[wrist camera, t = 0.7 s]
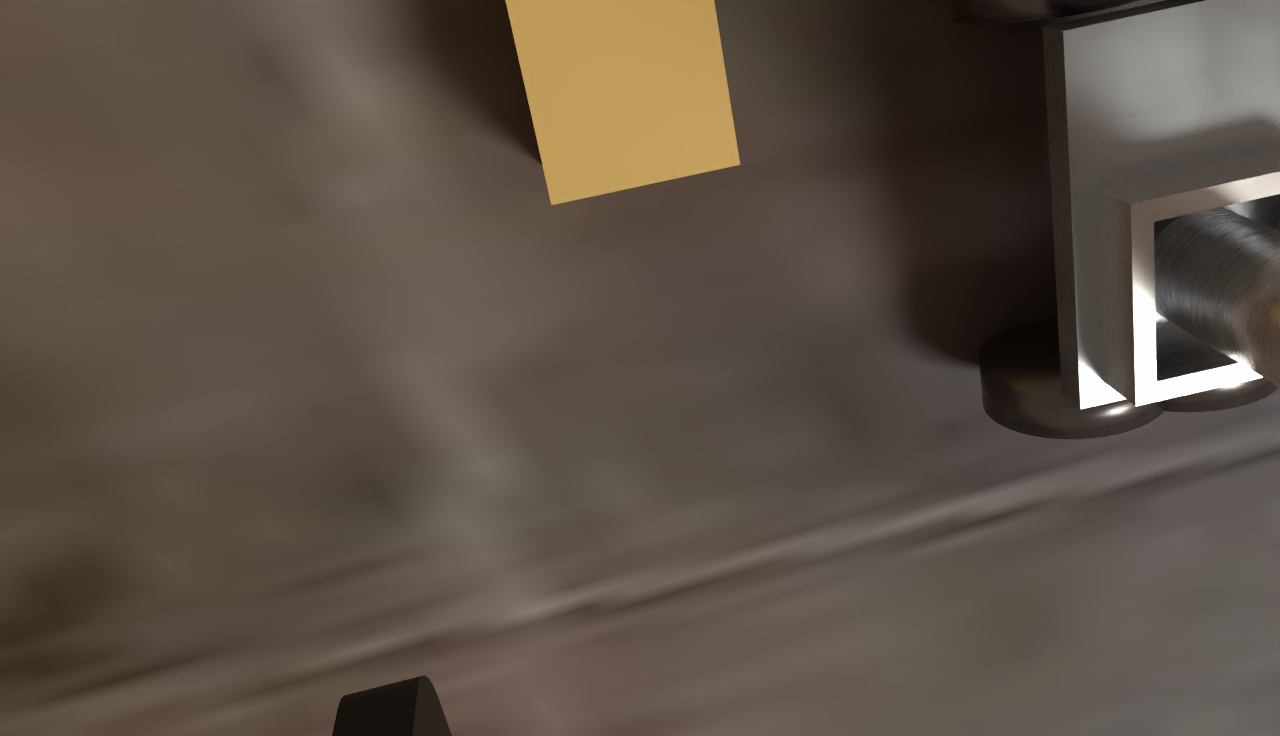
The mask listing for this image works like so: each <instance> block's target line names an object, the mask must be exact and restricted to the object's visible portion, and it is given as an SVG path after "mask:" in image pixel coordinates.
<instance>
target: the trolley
mask: <svg viewBox="0 0 1280 736" xmlns="http://www.w3.org/2000/svg"><path fill="white" fill-rule="evenodd" d="M1135 1H1138V0H950V10H951V20H952V21H953V22H956V23H961V24H976V25H984V24H1005V23H1017V22H1027V21H1036V20H1044V19H1051V18H1058V17H1064V16H1071V15H1077V14H1082V13H1088V12H1093V11H1098V10H1103V9H1107V8H1111V7H1116V6H1120V5H1124V4H1128V3H1131V2H1135ZM1043 46H1044V65H1045V84H1046V103H1047V122H1048V141H1049V160H1050V179H1051V198H1052V217H1053V236H1054V255H1055V274H1056V293H1057V312H1058V319H1050V320H1043V321H1038V322H1033V323H1029V324H1025V325H1022V326H1018V327H1015V328H1012V329H1010V330H1007V331H1005V332H1003V333H1001V334H999V335H997V336H995V337H994V338H992V339H991V340H990V341H988V342H987V343H986V344H985V345H984V347H983V348H982V350H981V352H980V355H979V362H980V374H981V386H982V398H983V407H984V409H985V412H986V413H987V414H988V415H989V417H990V418H992V419H993V420H994V421H995V422H997V423H999V424H1000V425H1002V426H1004V427H1006V428H1008V429H1011V430H1014V431H1017V432H1020V433H1024V434H1028V435H1032V436H1038V437H1045V438H1055V439H1086V438H1097V437H1105V436H1110V435H1115V434H1120V433H1123V432H1127V431H1130V430H1133V429H1136V428H1139V427H1141V426H1143V425H1146V424H1148V423H1149V422H1151V421H1153V420H1154V419H1156V418H1157V417H1158V416H1160V415H1161V414H1162V413H1163V412H1164V411H1171V412H1204V411H1215V410H1223V409H1229V408H1234V407H1239V406H1242V405H1246V404H1249V403H1252V402H1255V401H1258V400H1260V399H1262V398H1264V397H1267V396H1268V395H1270V394H1271V393H1273V392H1274V391H1276V390H1277V389H1278V388H1279V386H1277V385H1276V384H1274V383H1272V382H1271V381H1269V380H1267V379H1266V378H1264V377H1262V376H1261V375H1259V374H1257V373H1256V372H1254V371H1252V370H1250V369H1249V368H1247V367H1245V366H1244V365H1242V364H1240V363H1239V362H1237V361H1235V360H1234V359H1232V358H1230V357H1229V356H1227V355H1225V354H1224V353H1222V352H1220V351H1219V350H1217V349H1215V348H1214V347H1212V346H1210V345H1209V344H1207V343H1205V342H1204V341H1202V340H1200V339H1199V338H1197V337H1195V336H1193V335H1192V334H1190V333H1188V332H1187V331H1185V330H1183V329H1182V328H1180V327H1178V326H1177V325H1175V324H1173V323H1172V322H1170V321H1168V320H1167V319H1165V318H1163V317H1162V316H1160V315H1159V314H1157V313H1156V312H1155V262H1154V240H1155V239H1156V237H1157V236H1158V235H1159V233H1160V232H1161V231H1162V230H1163V229H1164V228H1165V227H1166V226H1167V225H1169V224H1170V223H1171V222H1172V221H1174V220H1175V219H1177V218H1178V217H1180V216H1182V215H1187V214H1191V213H1196V212H1200V211H1205V210H1209V209H1214V208H1222V209H1225V210H1229V211H1231V212H1234V213H1236V214H1239V215H1242V216H1244V217H1247V218H1249V219H1252V220H1254V221H1257V222H1259V223H1262V224H1264V225H1267V226H1269V227H1272V228H1274V229H1277V230H1279V231H1280V0H1166V1H1162V2H1157V3H1152V4H1148V5H1143V6H1138V7H1134V8H1129V9H1124V10H1120V11H1115V12H1110V13H1106V14H1101V15H1096V16H1092V17H1087V18H1083V19H1078V20H1073V21H1069V22H1064V23H1059V24H1055V25H1050V26H1045V27H1043Z"/></svg>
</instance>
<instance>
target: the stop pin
mask: <svg viewBox="0 0 1280 736" xmlns="http://www.w3.org/2000/svg"><path fill="white" fill-rule="evenodd" d="M1154 262H1155V312H1156V313H1157V314H1159V315H1160V316H1162V317H1163V318H1165V319H1167V320H1168V321H1170V322H1172V323H1173V324H1175V325H1177V326H1178V327H1180V328H1182V329H1183V330H1185V331H1187V332H1188V333H1190V334H1192V335H1193V336H1195V337H1197V338H1199V339H1200V340H1202V341H1204V342H1205V343H1207V344H1209V345H1210V346H1212V347H1214V348H1215V349H1217V350H1219V351H1220V352H1222V353H1224V354H1225V355H1227V356H1229V357H1230V358H1232V359H1234V360H1235V361H1237V362H1239V363H1240V364H1242V365H1244V366H1245V367H1247V368H1249V369H1250V370H1252V371H1254V372H1256V373H1257V374H1259V375H1261V376H1262V377H1264V378H1266V379H1267V380H1269V381H1271V382H1272V383H1274V384H1276V385H1277V386H1279V387H1280V231H1279V230H1277V229H1274V228H1272V227H1269V226H1267V225H1264V224H1262V223H1259V222H1257V221H1254V220H1252V219H1249V218H1247V217H1244V216H1242V215H1239V214H1236V213H1234V212H1231V211H1229V210H1225V209H1222V208H1214V209H1209V210H1205V211H1200V212H1196V213H1191V214H1187V215H1182V216H1180V217H1178V218H1177V219H1175V220H1174V221H1172V222H1171V223H1170V224H1169V225H1167V226H1166V227H1165V228H1164V229H1163V230H1162V231H1161V232H1160V233H1159V235H1158V236H1157V237H1156V239H1155V240H1154Z"/></svg>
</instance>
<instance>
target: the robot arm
mask: <svg viewBox="0 0 1280 736" xmlns="http://www.w3.org/2000/svg"><path fill="white" fill-rule="evenodd" d="M332 736H452V735H451V732H450V729H449V726H448V724H447V721H446V718H445V715H444V712H443V710H442V707H441V704H440V701H439V698H438V696H437V693H436V691H435V688H434V686H433V684H432V683H431V681H430V679H429V678H428V677H427V676H425V675H424V676H420V677H416V678H412V679H408V680H404V681H400V682H396V683H392V684H388V685H384V686H380V687H376V688H372V689H368V690H364V691H360V692H356V693H352V694H348V695H344V696H343V697H342V699H341V701H340V703H339V706H338V710H337V715H336V720H335V725H334V729H333V734H332Z"/></svg>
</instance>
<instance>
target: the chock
mask: <svg viewBox="0 0 1280 736" xmlns="http://www.w3.org/2000/svg"><path fill="white" fill-rule="evenodd" d="M505 1H506V5H507V10H508V14H509V19H510V23H511V27H512V32H513V36H514V41H515V45H516V50H517V54H518V58H519V63H520V67H521V72H522V76H523V81H524V85H525V89H526V94H527V98H528V103H529V107H530V112H531V116H532V120H533V125H534V129H535V134H536V138H537V143H538V147H539V151H540V156H541V160H542V165H543V169H544V174H545V178H546V182H547V187H548V191H549V196H550V200H551V205H554V204H559V203H563V202H568V201H573V200H577V199H582V198H587V197H591V196H596V195H601V194H605V193H610V192H615V191H619V190H624V189H629V188H633V187H638V186H643V185H647V184H652V183H657V182H661V181H666V180H671V179H675V178H680V177H685V176H689V175H694V174H699V173H703V172H708V171H713V170H717V169H722V168H727V167H731V166H736V165H740V161H739V155H738V149H737V142H736V136H735V130H734V123H733V117H732V111H731V104H730V98H729V91H728V85H727V79H726V72H725V66H724V60H723V53H722V47H721V41H720V34H719V28H718V22H717V15H716V9H715V3H714V0H505Z"/></svg>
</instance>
